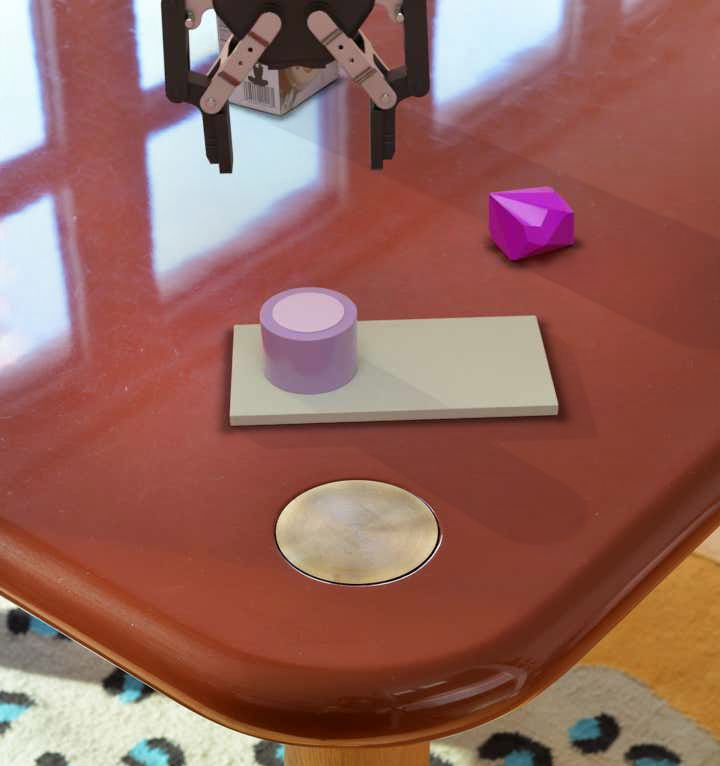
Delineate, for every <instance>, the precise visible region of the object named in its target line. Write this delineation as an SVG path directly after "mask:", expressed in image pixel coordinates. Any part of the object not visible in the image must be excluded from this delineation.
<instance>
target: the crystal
mask: <svg viewBox="0 0 720 766" xmlns="http://www.w3.org/2000/svg"><path fill="white" fill-rule="evenodd" d="M488 231H489V234H490V237H491V239H492V241H493V242H494V243H495V245H496V246H497V247H498V248H499V249H500V250H501V251H502V252H503V254H504V255H505V256H506V257H507V258H508V259H509V260H510V261H519V260H522V259H526V258H528V257H533V256H536V255H540V254H543V253H547V252H550V251H554V250H557V249H561V248H565V247H569V246H571V245H575V212H574V210H573V209H572V208H571V206H570V204H568V202H567V201H566V200H565V199H564V198H563V197H562V196H561V195H560V194H559V193H558V192H557V191H556V190H555V189H554V188H553V187H551V186H547V185H545V186H538V187H530V188H520V189H512V190H504V191H503V190H502V191H495V192H488Z"/></svg>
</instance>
